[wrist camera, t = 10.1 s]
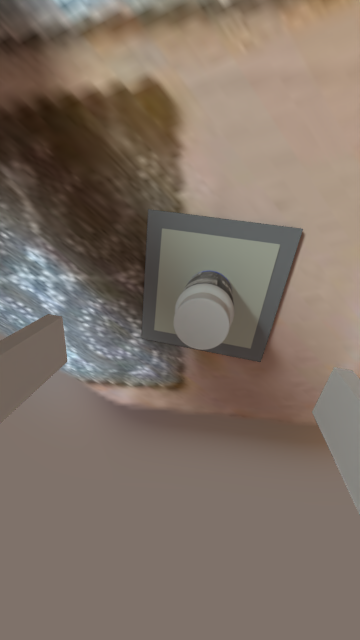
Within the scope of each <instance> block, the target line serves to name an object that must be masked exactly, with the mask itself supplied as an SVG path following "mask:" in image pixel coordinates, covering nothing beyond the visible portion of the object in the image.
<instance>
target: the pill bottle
mask: <svg viewBox="0 0 360 640" xmlns="http://www.w3.org/2000/svg"><path fill="white" fill-rule="evenodd" d="M233 318H234V302H233V293H232V287H231V284H230V282H229V280H228V279H227V278H226V277H225V276H224V275H223V274H221V273H219V272H217V271H213V270H205V271H201V272H199V273H197V274H195V275H194V276H193V277H192V278H191V279H190V281H189V282H188V283H187V285H186V287H185V288H184V290H183V291H182V293H181V294H180V296H179V298H178V299H177V302H176V305H175V315H174V321H173V323H174V329H175V332H176V334H177V336H178V338H179V339H180V340H181V341H182V342H183V343H184V344H186V345H187V346H189V347H192V348H195V349H200V350H206V349H211V348H214V347H216V346H218V345H219V344H221V343H222V342H223V341H224V340H225V338H226V337H227V335H228V333H229V329H230V326H231V324H232V322H233Z"/></svg>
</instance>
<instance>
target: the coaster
mask: <svg viewBox="0 0 360 640" xmlns="http://www.w3.org/2000/svg"><path fill="white" fill-rule="evenodd" d="M302 231H303V229H300V228H292V227H284V226H276V225H269V224H261V223H253V222H245V221H237V220H229V219H221V218H213V217H206V216H198V215H190V214H182V213H174V212H166V211H158V210H151V209H148V224H147V243H146V262H145V281H144V300H143V319H142V337H141V338H142V339H147V340H152V341H157V342H162V343H167V344H172V345H177V346H182V347H187V348H192V347H189V346H187V345H186V344H184V343H183V342H182V341H181V340H180V339H179V338H178V336H177V334H176V332H175V329H174V323H173V321H174V315H175V305H176V302H177V299H178V298H179V296H180V294H181V293H182V291H183V290H184V288H185V287H186V285H187V283H188V282H189V281H190V279H191V278H192V277H193V276H194V275H195V274H197V273H199V272H201V271H205V270H213V271H217V272H219V273H221V274H223V275H224V276H225V277H226V278H227V279H228V280H229V282H230V284H231V287H232V293H233V302H234V318H233V322H232V324H231V326H230V329H229V333H228V335H227V337H226V338H225V340H224V341H223V342H222V343H221V344H219V345H218V346H216V347H214V348H211V349H206V350H202V351H207V352H212V353H217V354H222V355H227V356H232V357H238V358H243V359H248V360H253V361H258V362H261V359H262V356H263V353H264V350H265V347H266V344H267V341H268V337H269V334H270V331H271V328H272V325H273V322H274V319H275V315H276V312H277V309H278V306H279V303H280V300H281V297H282V293H283V290H284V287H285V284H286V281H287V278H288V275H289V271H290V268H291V265H292V262H293V259H294V256H295V253H296V249H297V246H298V243H299V240H300V237H301V234H302ZM192 349H195V348H192ZM197 350H200V349H197Z"/></svg>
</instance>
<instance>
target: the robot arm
mask: <svg viewBox="0 0 360 640" xmlns="http://www.w3.org/2000/svg"><path fill="white" fill-rule="evenodd" d="M66 362H67V354H66V345H65V337H64V328H63V320H62V317H61V316H56V315H50V314H48V315H46V316H44V317H42V318H40V319H39V320H37V321H35V322H33V323H31V324H30V325H28V326H26V327H24V328H22V329H21V330H19V331H17V332H15V333H13V334H12V335H10V336H8V337H6V338H4V339H3V340H1V341H0V424H1V423H2V422H3V421H4V420H5V419H6V418H7V417H8V416H9V415H10V414H11V413H12V412H14V411H15V410H16V408H18V407H19V406H20V405H21V404H22V403H23V402H24V401H25V400H26V399H27V398H29V397H30V396H31V395H32V394H33V393H34V392H35V391H36V390H37V389H38V388H39V387H40V386H41V385H42V384H44V383H45V382H46V381H47V380H48V379H49V378H50V377H51V376H52V375H53V374H54V373H55V372H57V371H58V370H59V369H60V368H61V367H62V366H63V365H64V364H65V363H66ZM312 413H313V415H314V417H315V419H316V422H317V424H318V426H319V428H320V430H321V432H322V435H323V437H324V439H325V441H326V443H327V445H328V448H329V450H330V452H331V454H332V456H333V458H334V460H335V463H336V465H337V467H338V469H339V471H340V473H341V476H342V478H343V480H344V482H345V484H346V486H347V489H348V491H349V493H350V495H351V497H352V500H353V502H354V504H355V506H356V508H357V510H358V513H359V515H360V379H359V378H358V376H357V375H356V374H355V373H354V372H353V371H352V370H347V369H342V368H336V367H334V369H333V371H332V373H331V375H330V377H329V379H328V381H327V383H326V385H325V387H324V389H323V391H322V393H321V395H320V397H319V399H318V401H317V403H316V405H315V407H314V409H313V411H312Z"/></svg>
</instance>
